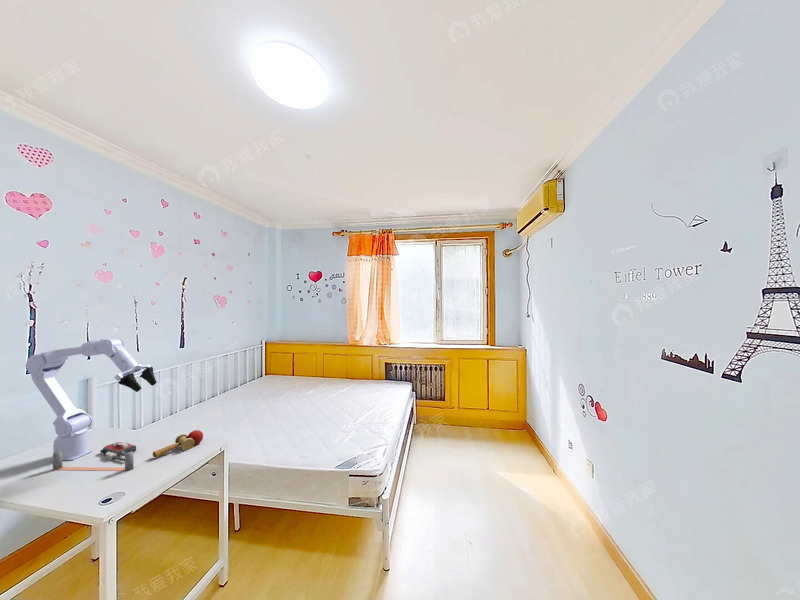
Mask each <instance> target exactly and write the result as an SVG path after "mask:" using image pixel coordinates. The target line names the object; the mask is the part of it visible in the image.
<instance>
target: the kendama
mask: <svg viewBox="0 0 800 600" xmlns="http://www.w3.org/2000/svg"><path fill="white" fill-rule="evenodd" d="M203 439H204V434H203V432H202V431H201V430H199V429H195V430H192V431H191V432H189V433H188V435H187V434H186V433H185V434H184V433H182V434H179V435H178V436H177V437H176V438H175V439H174V443H172V444H169V445H167V446H165V447H163V448H159V449H156V450H154V451H152V457H153V458H154V457H155V458H157V459H159V458H160V457H162V456H164V455H166V454H168V453H170V452H171V451H173V450H175V449H177V448H178V447H180V449H181V450H183V451H188V450H190V449H192V448H193V446H195V445H198V444H200V443H201V442H202V441H203ZM155 458H154V459H155Z"/></svg>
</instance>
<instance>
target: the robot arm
mask: <svg viewBox="0 0 800 600" xmlns="http://www.w3.org/2000/svg"><path fill="white" fill-rule="evenodd" d="M124 345H125V343H124V341H123V340H122V339H120V338H117V337H115V338H113V337H112V338H107V339H106V338H101V339H99V340H93V339H92V340H87V341H86V342H84V343H83V344H81V345H80V346H74V347H68V348H67V347H66V348H60V349H53V350H49V351H44V352H40V353H39V354H33V355H30V356H29V357H28V358H27V360H26V362H25V365H24V367H25V369H26V370H27V371H28V373H29V374H30V376H31V380H32V382H33V383H34V385H35V386H36V388H37V389H38V391H39V392H40V393H41V395H42V397H43V398H44V400H45V401H46V403H48V405H49V406H50V408H51V410H52V411H53V412H54V414H55V415H56V418H55V420H54V421H53V422H52V425H53V426H54V430H55V431H54V432H55V434H56V435H57V437H56V438H55V439H54V441H53V445H52V446H53V447H52V449H53V450H52V451H53V452H52V454H53V453H55V452H58V451H63V458H62V461H74V460H76V459H78V458H81V457H83V456H86V455H87V454H89V453H92V452H94V449H88V430H89V428H90V427H91V426H92V424H93V422H94V421H93V417H92V415H90V414H88V413H87V412H86V411H85V410H84V409H81V408H78V407H75V405H74V404H73V402H72V400H71V398H69V397H68V395H67V393H66V392H65V391H64V389H63V388H62V386H61V384H60V383H59V382H58V381H57V379H56V378H55V376H56V375H57V373H58V372H59V371H60V370H61V369H62V368H63V366H64V365H65V364H66V361H67V360H68V359H69V357H72V356H78V355H82V356H84V357H92V356H98V355H105V356H106V357H108V358H109V360H111V361H112V362H113V364H114V365H115V366H116V367H117V369H118V370H119V371H120V373H118V374H116V375H115V376H114V377H113V378H114V379H115V380H116V381H117V382H118V385H122V386H125V387H127V388H129V389H131V390H133V391H134V392H136V393H138V392H139V391H140V390H142V387H141V384H139V382H138V381H137V379H136V377H135V375H138V374H140V373H141V374H140V375H139V377H140V378H142V379H143V380H144V381H146V382H147V383H148V384H149V385H151V386H153V387H154V386H155V385H156V384H157V383H158V382H157V380H156V377H155V373H154V368H153V366H151V365H150V364H141V363H140V364H139V363H138V362H137V361H136V359H135V358H133V356H132V355H131V354H130V353H129V352H128V350H127V349H126V348H125V346H124ZM50 460H51V461H53V457H50Z"/></svg>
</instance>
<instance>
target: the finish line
mask: <svg viewBox="0 0 800 600" xmlns="http://www.w3.org/2000/svg"><path fill="white" fill-rule="evenodd" d="M134 453H135V452H128V453H126V454H125V456H124V459H125V461H124V467H98V466H97V467H92V466H91V467H90V466H86V467H85V466H84V467H83V466H63V460H62V458H63V451H58V452H55V453H53V452H52V458H53V460H52V471H98V472H99V471H104V472H105V471H106V472H109V471H111V472H112V471H114V472H117V471H119V472H124V471H125V472H130V471H132V470H134V462H135V461H134V455H135V454H134Z"/></svg>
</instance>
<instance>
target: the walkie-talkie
mask: <svg viewBox="0 0 800 600" xmlns="http://www.w3.org/2000/svg"><path fill="white" fill-rule="evenodd" d="M135 451H136V452H137V445H134V444H131V443H129V442H126V441H117V442H114V443H111V444H108V445H105V446H103V448H102V449H100V450H99V452H100V453H101V454H103V455H105V454H106V455H105V460H108V461H111V460H112V461H113V460H118V461H120V462H121V461H123V462H125V454H126V453H128V452H134V453H136V452H135ZM122 456H123V457H122Z"/></svg>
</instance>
